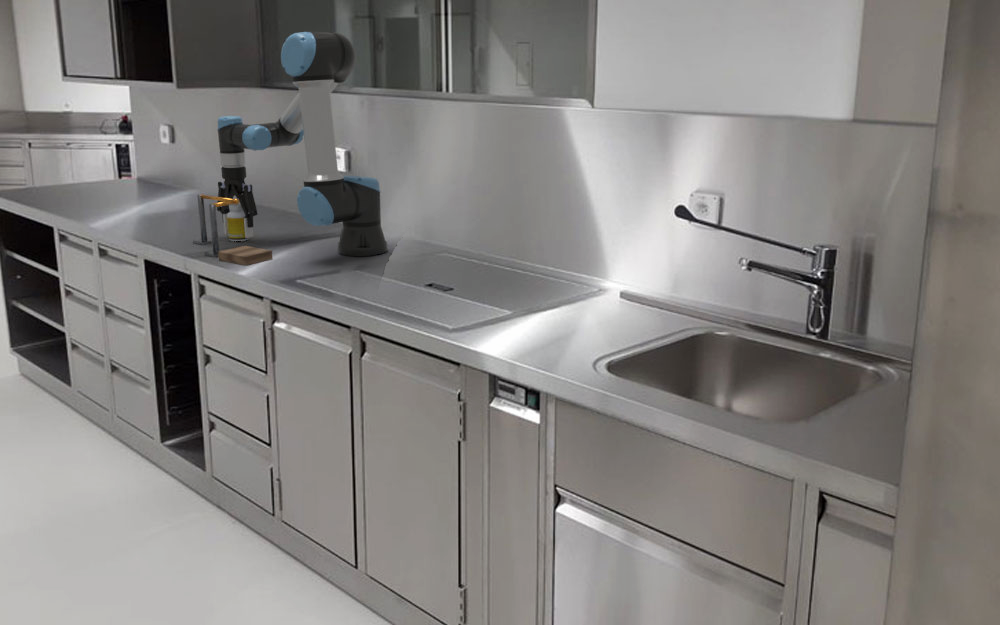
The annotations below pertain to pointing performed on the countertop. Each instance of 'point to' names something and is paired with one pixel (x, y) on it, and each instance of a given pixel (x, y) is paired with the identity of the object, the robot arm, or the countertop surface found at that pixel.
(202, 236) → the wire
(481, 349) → the countertop surface
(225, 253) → the pad
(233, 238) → the pill bottle
